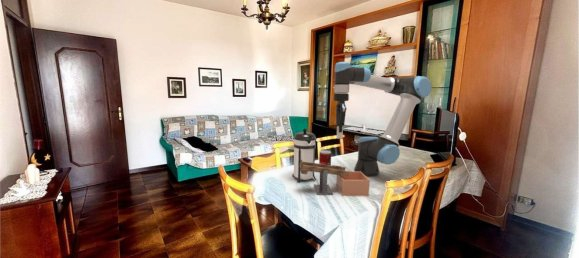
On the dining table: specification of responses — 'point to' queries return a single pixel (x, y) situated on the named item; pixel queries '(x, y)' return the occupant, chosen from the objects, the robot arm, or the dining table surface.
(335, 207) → the dining table surface
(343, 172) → the tipping chute
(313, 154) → the coffee press
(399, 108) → the robot arm
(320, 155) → the canned food
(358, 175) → the brown cardboard box
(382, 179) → the dining table surface
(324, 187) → the chute stand
